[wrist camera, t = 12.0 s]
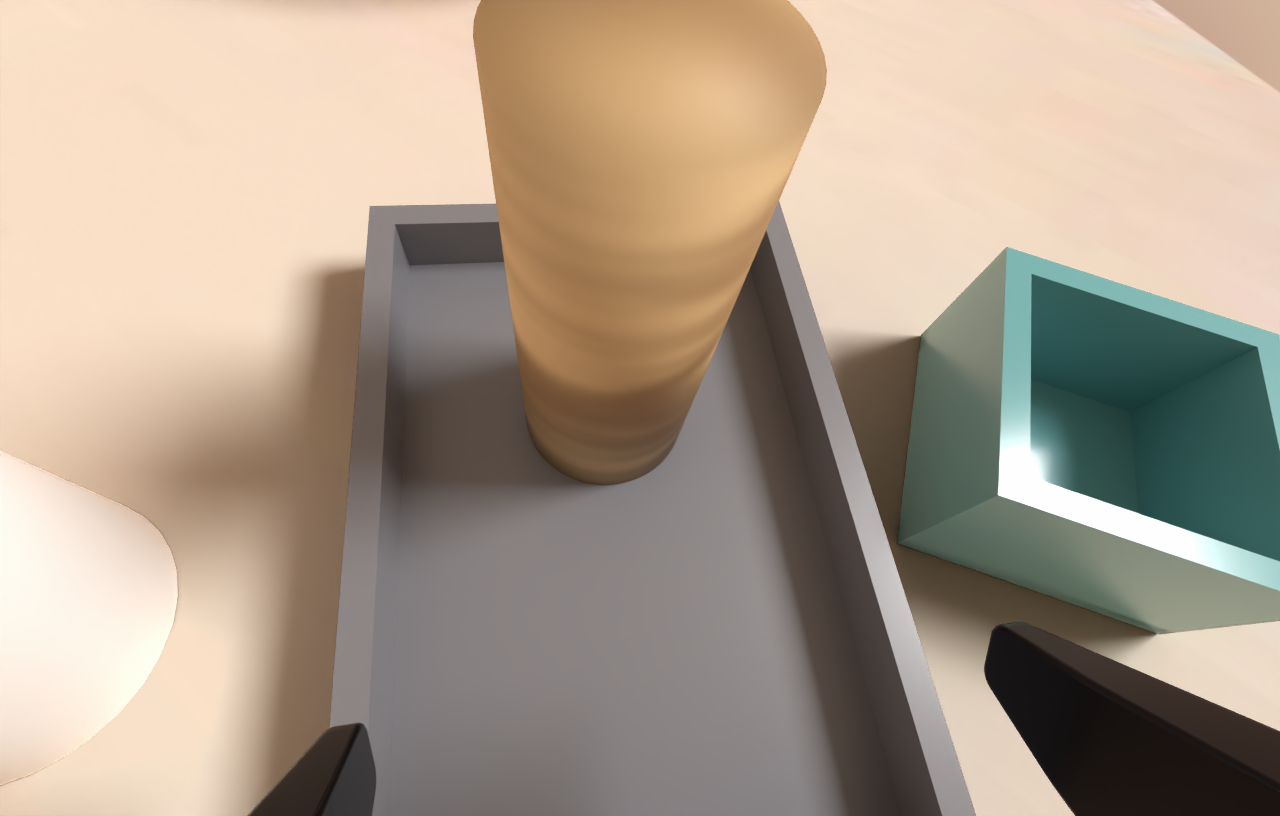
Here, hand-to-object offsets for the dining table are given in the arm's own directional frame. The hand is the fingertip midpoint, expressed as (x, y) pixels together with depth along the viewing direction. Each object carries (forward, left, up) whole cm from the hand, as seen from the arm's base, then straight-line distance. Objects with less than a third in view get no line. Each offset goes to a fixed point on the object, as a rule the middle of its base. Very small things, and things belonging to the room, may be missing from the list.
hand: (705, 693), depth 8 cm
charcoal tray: (+2, +5, -9) cm, 10 cm away
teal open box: (+16, 0, -9) cm, 18 cm away
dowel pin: (+3, +8, -8) cm, 12 cm away
